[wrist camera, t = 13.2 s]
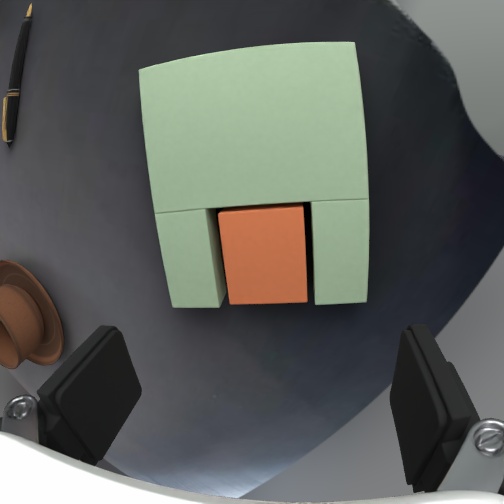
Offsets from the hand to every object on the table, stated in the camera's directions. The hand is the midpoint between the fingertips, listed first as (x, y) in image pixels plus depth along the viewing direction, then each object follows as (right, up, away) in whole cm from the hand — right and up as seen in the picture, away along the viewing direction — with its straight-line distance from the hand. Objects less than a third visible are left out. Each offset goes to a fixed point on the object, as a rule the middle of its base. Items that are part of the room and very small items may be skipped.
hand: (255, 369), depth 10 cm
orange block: (+1, +4, +12) cm, 13 cm away
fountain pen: (-21, +20, +10) cm, 30 cm away
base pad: (0, +9, +11) cm, 14 cm away
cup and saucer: (-23, -2, +18) cm, 29 cm away
